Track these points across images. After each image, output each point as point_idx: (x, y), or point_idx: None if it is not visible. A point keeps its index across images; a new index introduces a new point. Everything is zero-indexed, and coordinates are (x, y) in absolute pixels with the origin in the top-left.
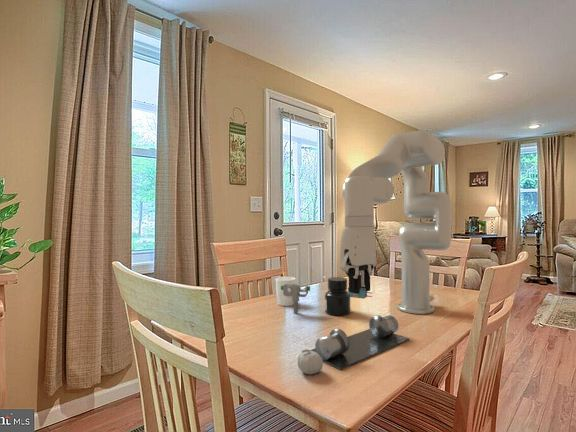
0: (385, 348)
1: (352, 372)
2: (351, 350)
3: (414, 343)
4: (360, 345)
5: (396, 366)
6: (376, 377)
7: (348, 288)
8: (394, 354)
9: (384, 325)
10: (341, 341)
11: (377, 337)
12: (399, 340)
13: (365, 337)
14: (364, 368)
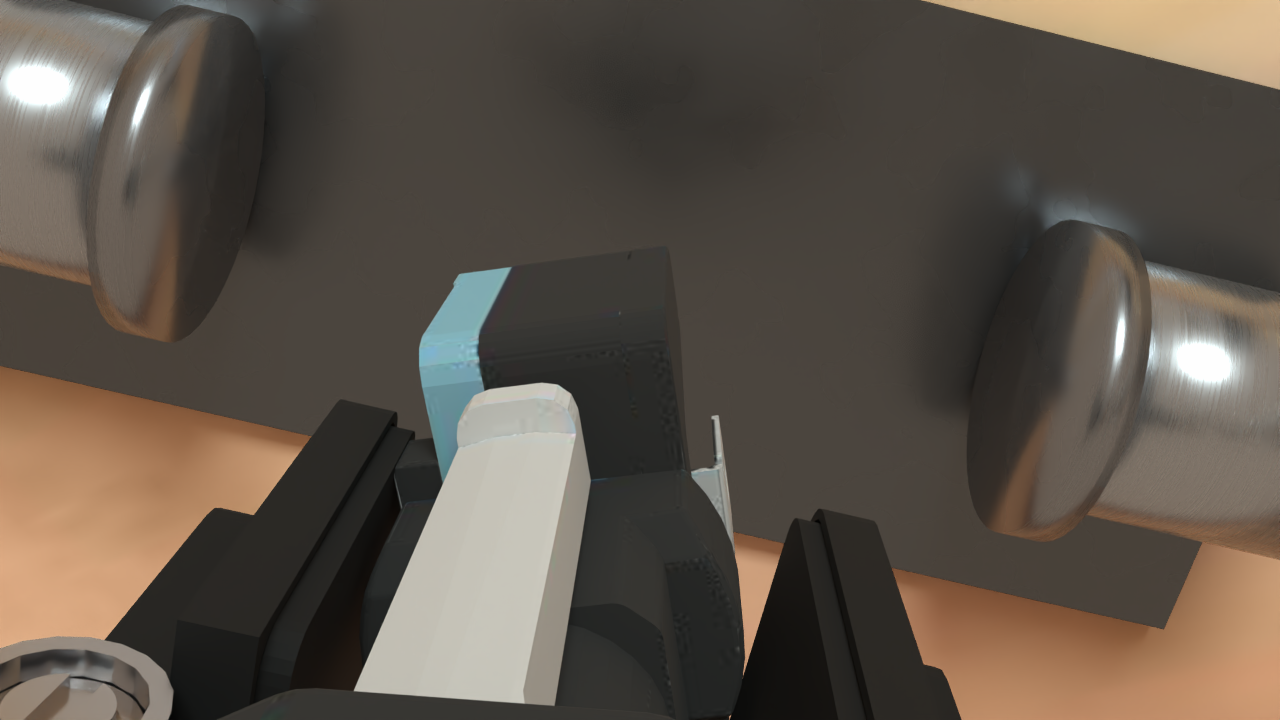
0: None
1: (13, 451)
2: (403, 238)
3: (1081, 683)
4: None
5: None
6: None
7: (424, 353)
8: None
9: (1003, 502)
10: (84, 281)
11: (990, 319)
12: (1031, 563)
13: (904, 192)
14: (166, 504)
